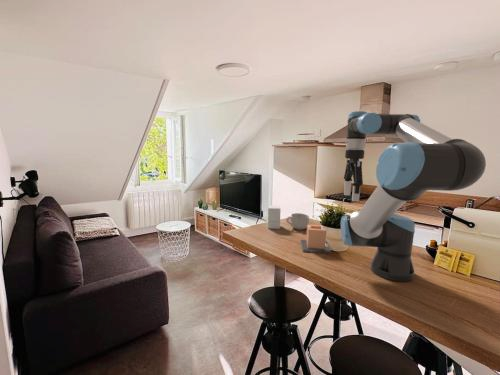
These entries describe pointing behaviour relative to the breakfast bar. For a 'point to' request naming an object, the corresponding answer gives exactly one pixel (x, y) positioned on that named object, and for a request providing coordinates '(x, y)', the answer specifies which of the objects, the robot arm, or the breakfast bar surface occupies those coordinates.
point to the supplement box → (274, 217)
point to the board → (306, 249)
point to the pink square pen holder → (316, 237)
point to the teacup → (298, 221)
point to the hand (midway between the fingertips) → (350, 198)
